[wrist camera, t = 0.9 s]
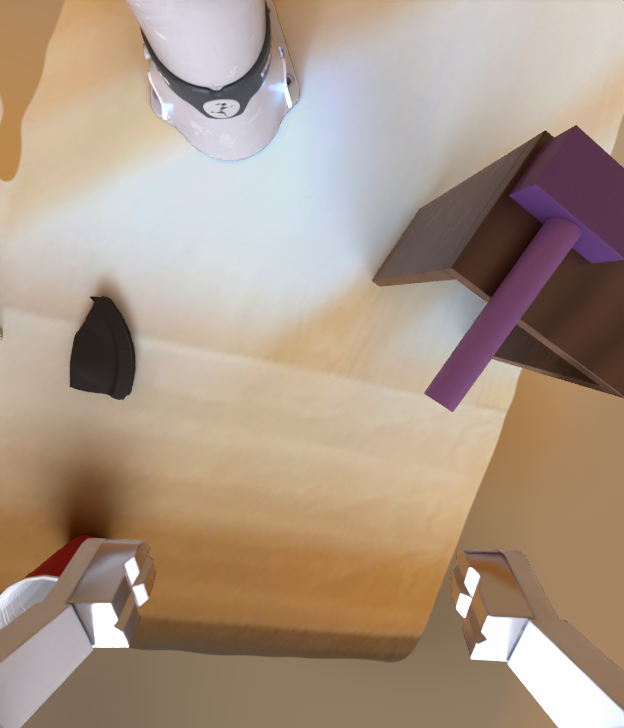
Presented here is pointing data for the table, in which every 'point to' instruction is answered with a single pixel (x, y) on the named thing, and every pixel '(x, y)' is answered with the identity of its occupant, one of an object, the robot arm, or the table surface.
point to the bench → (496, 259)
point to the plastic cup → (36, 583)
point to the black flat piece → (103, 352)
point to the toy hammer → (544, 246)
